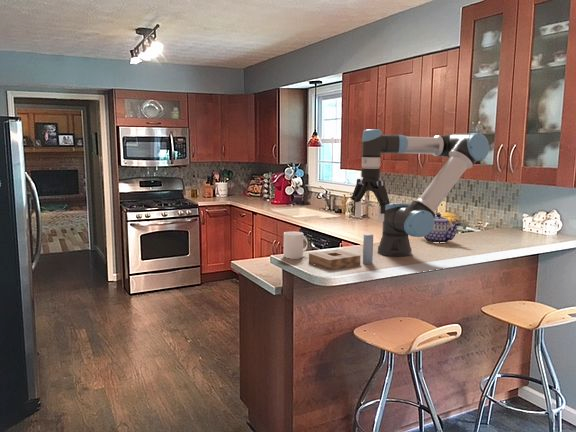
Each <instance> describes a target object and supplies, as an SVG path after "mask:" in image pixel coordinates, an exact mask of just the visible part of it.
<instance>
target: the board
mask: <svg viewBox="0 0 576 432" xmlns="http://www.w3.org/2000/svg"><path fill="white" fill-rule="evenodd" d="M308 263H309V264H311V263H312V264H311V265H314V264H315V266H317V267H321V268H322V269H325V270H328V271H332V270H338V269H344V268H350V267H355V266H360V265H361V254H356V253H353V252H351V251H350V252H349V251H346V250H343V249H339V248H338V249H330V250H324V251H323V250H322V251H316V252H311V253H310V252H309V253H308Z"/></svg>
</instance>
